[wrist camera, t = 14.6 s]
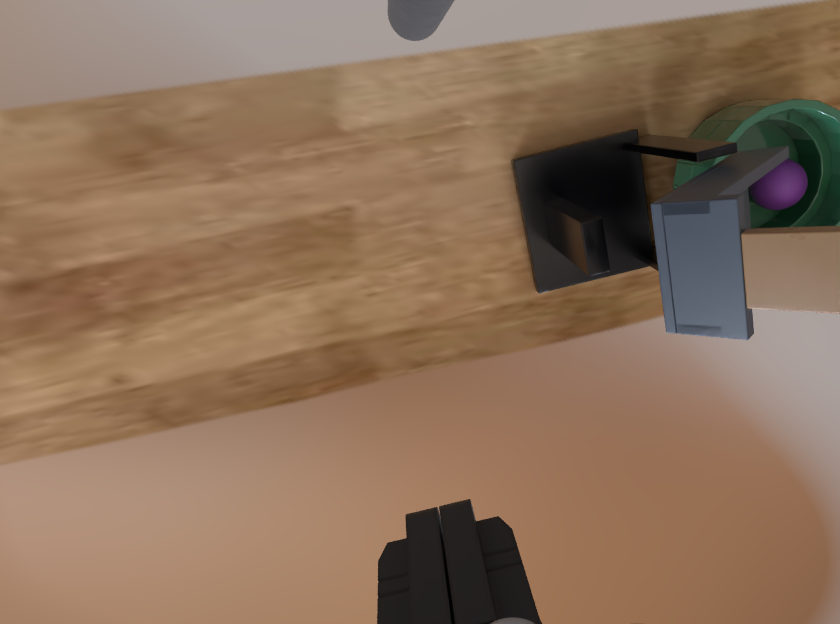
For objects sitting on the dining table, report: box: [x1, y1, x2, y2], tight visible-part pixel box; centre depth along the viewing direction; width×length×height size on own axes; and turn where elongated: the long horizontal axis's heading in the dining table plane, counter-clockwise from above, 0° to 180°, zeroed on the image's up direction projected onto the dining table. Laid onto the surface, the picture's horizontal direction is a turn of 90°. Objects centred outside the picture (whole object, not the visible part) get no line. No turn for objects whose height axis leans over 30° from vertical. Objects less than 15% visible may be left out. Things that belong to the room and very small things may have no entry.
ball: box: [749, 159, 808, 210], centre depth 39 cm, size 3×3×3 cm
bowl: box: [673, 99, 840, 228], centre depth 39 cm, size 9×9×5 cm
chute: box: [651, 146, 840, 340], centre depth 27 cm, size 10×6×8 cm
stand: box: [511, 129, 737, 293], centre depth 36 cm, size 9×9×10 cm
